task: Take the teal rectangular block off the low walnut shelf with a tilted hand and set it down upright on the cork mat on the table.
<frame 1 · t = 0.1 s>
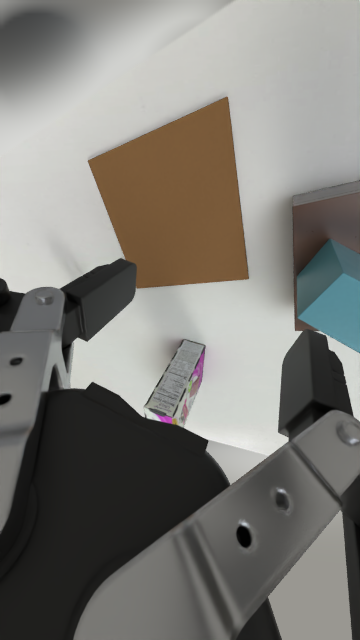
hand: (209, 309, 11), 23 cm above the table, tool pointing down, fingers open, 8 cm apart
mat: (169, 219, 33), on the table
teal rectangular block: (339, 273, 22), point 7 cm above the table, touching shelf
shelf: (331, 251, 27), on the table
candy bar box: (194, 360, 48), on the table
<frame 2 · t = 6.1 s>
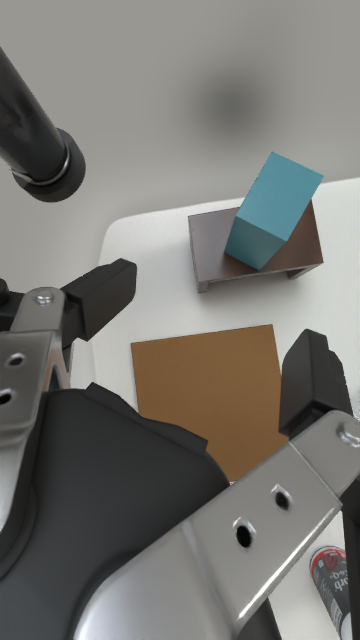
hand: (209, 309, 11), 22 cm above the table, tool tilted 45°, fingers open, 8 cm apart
mat: (210, 405, 31), on the table
teal rectangular block: (253, 238, 26), point 7 cm above the table, touching shelf
shelf: (242, 258, 32), on the table
pill bottle: (330, 566, 29), on the table
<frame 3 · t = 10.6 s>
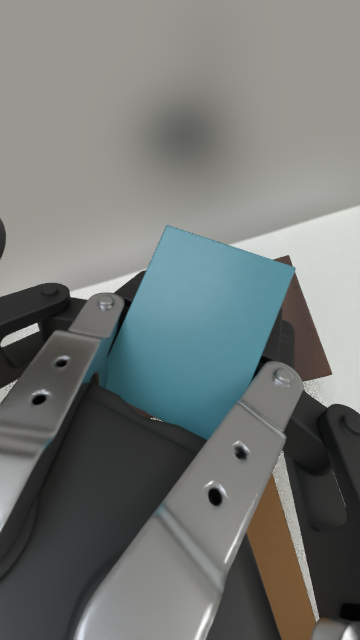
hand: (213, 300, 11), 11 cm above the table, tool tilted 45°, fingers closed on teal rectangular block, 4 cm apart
mat: (182, 597, 19), on the table
teal rectangular block: (203, 340, 15), point 7 cm above the table, touching gripper, shelf
shelf: (205, 344, 22), on the table
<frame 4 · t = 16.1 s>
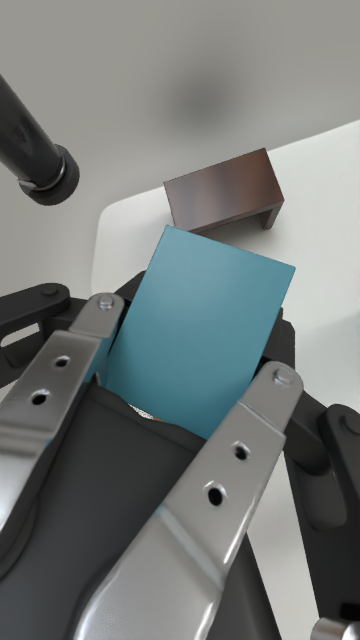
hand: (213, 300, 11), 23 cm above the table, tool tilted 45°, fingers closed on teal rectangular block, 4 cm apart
teal rectangular block: (203, 340, 15), point 19 cm above the table, touching gripper
shelf: (219, 219, 36), on the table
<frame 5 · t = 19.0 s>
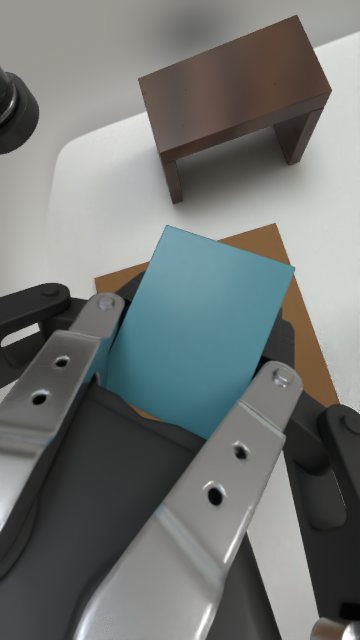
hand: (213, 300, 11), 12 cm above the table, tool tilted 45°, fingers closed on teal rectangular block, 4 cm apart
mat: (206, 343, 23), on the table
teal rectangular block: (203, 340, 15), point 8 cm above the table, touching gripper
shelf: (224, 153, 25), on the table
when the fingers open (5 cm above the table, at t = 21.5 s): teal rectangular block stays where it is, resting on mat.
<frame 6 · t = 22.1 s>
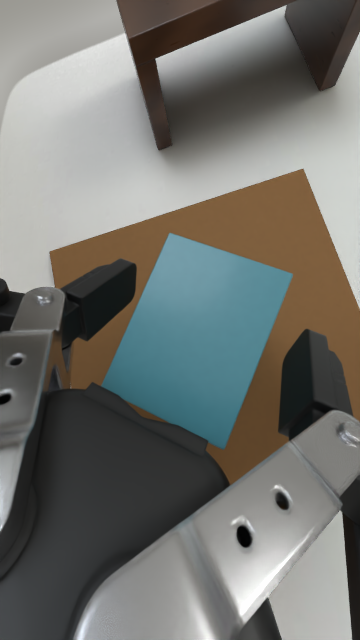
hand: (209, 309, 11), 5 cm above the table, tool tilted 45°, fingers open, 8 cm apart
mat: (203, 341, 16), on the table
teal rectangular block: (203, 342, 15), resting on mat
shelf: (228, 79, 18), on the table
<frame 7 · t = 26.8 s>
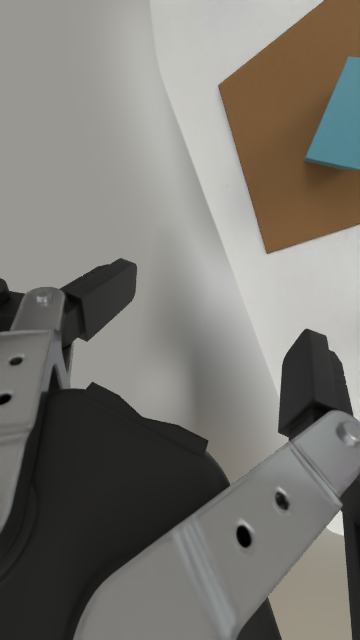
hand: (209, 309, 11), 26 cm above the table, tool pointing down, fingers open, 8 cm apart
mat: (339, 131, 24), on the table
teal rectangular block: (340, 131, 24), resting on mat
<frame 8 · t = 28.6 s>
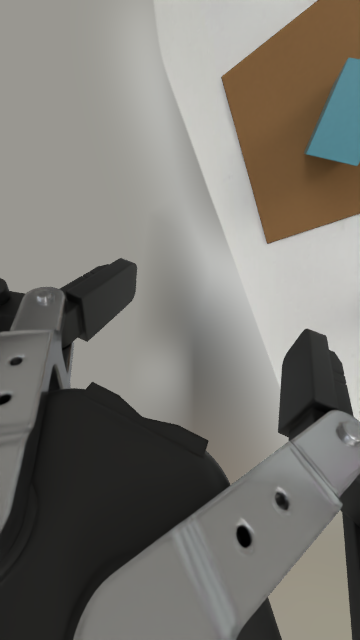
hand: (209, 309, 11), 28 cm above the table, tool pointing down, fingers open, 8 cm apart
mat: (338, 124, 25), on the table
teal rectangular block: (339, 124, 25), resting on mat
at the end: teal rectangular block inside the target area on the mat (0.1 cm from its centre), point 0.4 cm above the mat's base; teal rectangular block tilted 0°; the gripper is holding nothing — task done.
